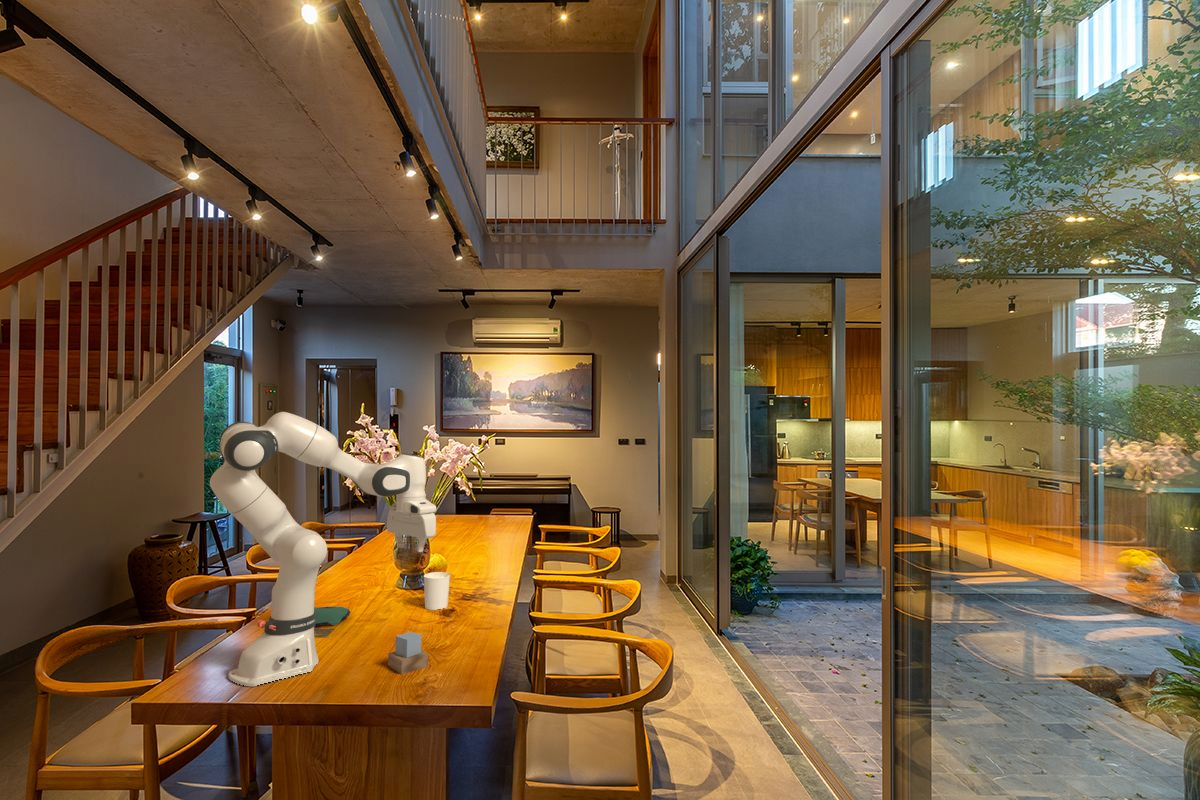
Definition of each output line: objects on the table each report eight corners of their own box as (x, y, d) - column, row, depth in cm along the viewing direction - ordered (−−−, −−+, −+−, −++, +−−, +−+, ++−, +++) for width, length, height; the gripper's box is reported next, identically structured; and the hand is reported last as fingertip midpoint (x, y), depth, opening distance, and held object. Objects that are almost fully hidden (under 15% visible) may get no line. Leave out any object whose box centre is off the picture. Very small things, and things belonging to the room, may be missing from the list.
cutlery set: (356, 610, 230) (356, 604, 230) (333, 639, 201) (333, 632, 201) (299, 613, 227) (299, 606, 227) (267, 642, 198) (267, 635, 198)
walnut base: (401, 675, 172) (401, 660, 172) (388, 667, 178) (388, 653, 178) (427, 668, 177) (428, 653, 178) (414, 660, 183) (414, 646, 183)
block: (406, 658, 174) (407, 639, 174) (395, 654, 177) (395, 636, 177) (421, 652, 178) (421, 634, 178) (409, 648, 181) (410, 631, 181)
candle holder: (418, 606, 236) (419, 574, 237) (442, 601, 243) (442, 570, 243) (430, 612, 229) (431, 579, 229) (454, 607, 235) (455, 575, 236)
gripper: (382, 503, 199) (381, 547, 199) (423, 509, 187) (422, 555, 187) (398, 501, 205) (398, 544, 204) (439, 507, 193) (439, 552, 192)
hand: (409, 549), depth 195 cm, fingers open, 8 cm apart
